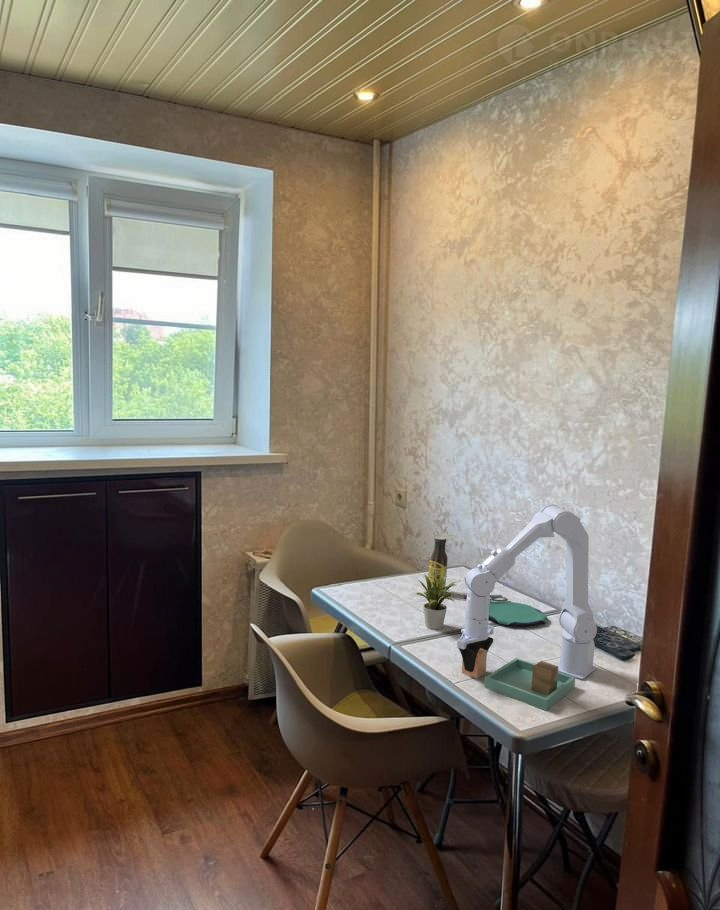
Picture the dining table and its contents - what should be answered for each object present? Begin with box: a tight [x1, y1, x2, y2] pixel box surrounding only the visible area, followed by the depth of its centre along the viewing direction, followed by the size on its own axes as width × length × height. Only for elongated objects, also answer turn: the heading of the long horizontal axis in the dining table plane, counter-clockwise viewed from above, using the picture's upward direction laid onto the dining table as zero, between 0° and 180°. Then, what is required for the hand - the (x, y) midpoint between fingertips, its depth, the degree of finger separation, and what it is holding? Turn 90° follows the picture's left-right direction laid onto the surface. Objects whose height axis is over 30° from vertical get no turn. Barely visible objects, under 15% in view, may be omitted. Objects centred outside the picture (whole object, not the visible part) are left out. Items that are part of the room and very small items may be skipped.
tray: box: [484, 657, 576, 711], centre depth 161 cm, size 16×16×2 cm
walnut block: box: [531, 660, 558, 696], centre depth 158 cm, size 4×4×6 cm
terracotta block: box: [461, 648, 488, 679], centre depth 168 cm, size 4×4×6 cm
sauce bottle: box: [427, 535, 449, 593], centre depth 228 cm, size 6×6×20 cm
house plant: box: [415, 573, 460, 631], centre depth 196 cm, size 14×14×16 cm
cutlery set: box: [463, 594, 548, 626], centre depth 214 cm, size 20×30×2 cm, turn 16°
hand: (474, 667), depth 168 cm, fingers closed on terracotta block, 4 cm apart
